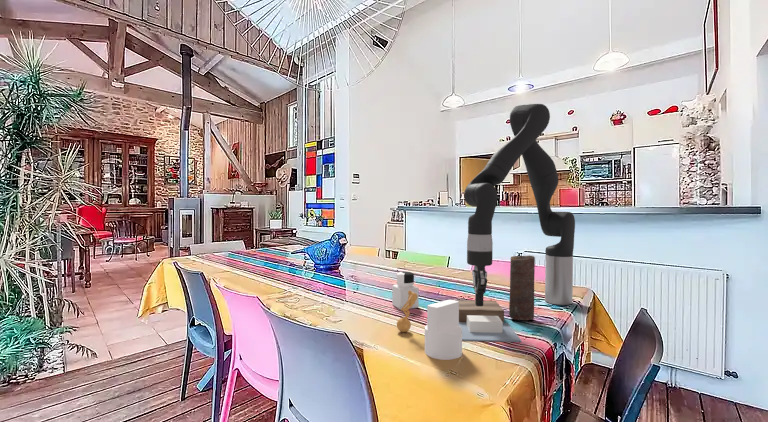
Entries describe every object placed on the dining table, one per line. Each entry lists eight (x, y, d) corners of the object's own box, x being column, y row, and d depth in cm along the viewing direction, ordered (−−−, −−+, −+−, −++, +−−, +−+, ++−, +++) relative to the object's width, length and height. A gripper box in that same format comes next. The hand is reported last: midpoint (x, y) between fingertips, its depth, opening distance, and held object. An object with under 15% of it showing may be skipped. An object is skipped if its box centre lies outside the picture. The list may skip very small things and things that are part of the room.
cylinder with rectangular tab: (440, 343, 103) (440, 297, 102) (469, 352, 96) (469, 303, 96) (417, 352, 96) (417, 303, 96) (446, 363, 90) (446, 310, 90)
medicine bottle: (410, 303, 143) (410, 270, 143) (418, 307, 137) (418, 273, 136) (392, 304, 141) (392, 271, 141) (399, 309, 134) (399, 274, 134)
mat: (453, 323, 119) (453, 321, 119) (507, 324, 118) (507, 323, 118) (459, 340, 104) (459, 339, 104) (521, 342, 103) (521, 340, 103)
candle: (536, 324, 118) (536, 257, 118) (510, 322, 120) (511, 257, 119) (531, 317, 126) (532, 254, 125) (507, 315, 127) (508, 254, 127)
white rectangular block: (469, 321, 110) (469, 332, 110) (502, 322, 109) (502, 332, 109) (466, 315, 116) (466, 325, 116) (497, 315, 115) (497, 326, 115)
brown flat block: (452, 311, 132) (453, 300, 132) (495, 312, 131) (495, 300, 131) (456, 322, 120) (457, 309, 120) (503, 323, 119) (504, 310, 119)
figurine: (403, 326, 116) (403, 286, 116) (422, 329, 113) (422, 288, 113) (390, 335, 108) (390, 291, 108) (410, 338, 106) (410, 294, 105)
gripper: (496, 251, 113) (496, 311, 113) (488, 246, 126) (487, 300, 126) (470, 251, 113) (469, 311, 114) (464, 246, 127) (464, 300, 127)
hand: (479, 305), depth 120 cm, fingers closed
